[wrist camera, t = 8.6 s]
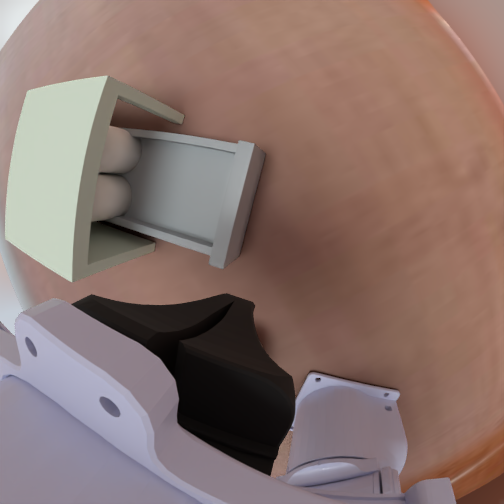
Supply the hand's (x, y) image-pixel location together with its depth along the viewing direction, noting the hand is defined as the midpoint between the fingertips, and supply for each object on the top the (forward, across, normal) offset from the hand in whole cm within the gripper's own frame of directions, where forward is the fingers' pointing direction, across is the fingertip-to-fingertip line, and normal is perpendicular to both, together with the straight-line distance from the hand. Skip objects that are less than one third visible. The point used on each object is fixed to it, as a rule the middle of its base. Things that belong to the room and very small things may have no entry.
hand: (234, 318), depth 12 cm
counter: (+10, +15, -4) cm, 18 cm away
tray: (+10, +10, -4) cm, 15 cm away
